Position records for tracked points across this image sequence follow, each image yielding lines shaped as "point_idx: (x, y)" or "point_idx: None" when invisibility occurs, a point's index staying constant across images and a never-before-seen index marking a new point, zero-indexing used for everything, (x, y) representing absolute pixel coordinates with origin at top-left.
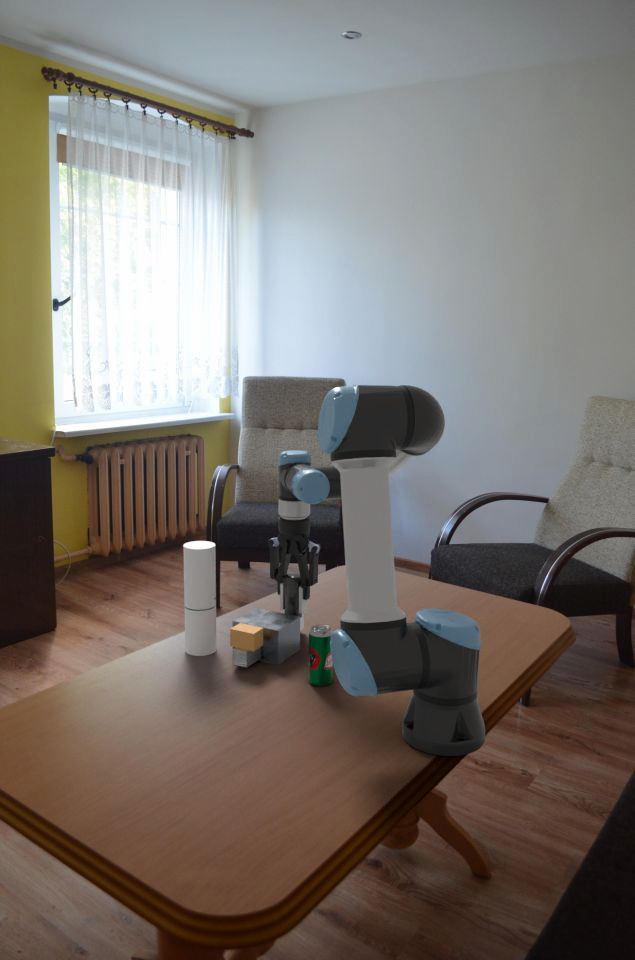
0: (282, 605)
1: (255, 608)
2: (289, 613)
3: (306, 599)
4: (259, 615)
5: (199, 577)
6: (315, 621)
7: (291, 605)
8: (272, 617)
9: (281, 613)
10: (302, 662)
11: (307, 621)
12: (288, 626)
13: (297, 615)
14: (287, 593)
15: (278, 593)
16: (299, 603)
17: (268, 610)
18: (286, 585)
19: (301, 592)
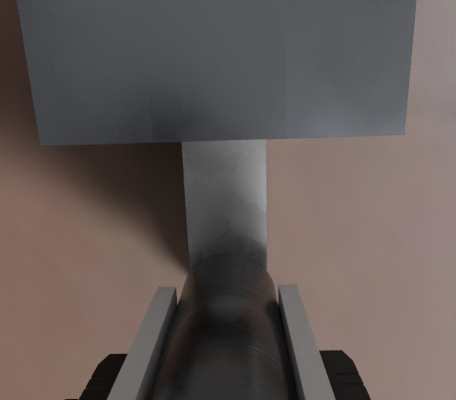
0: (284, 298)
1: (399, 120)
2: (222, 264)
3: (108, 356)
4: (298, 3)
5: None
6: None
7: (207, 291)
8: (191, 23)
9: (182, 132)
10: None
11: None
12: None
13: (187, 280)
14: (237, 338)
15: (342, 358)
16: (159, 320)
17: (293, 134)
18: (252, 394)
19: (117, 378)
